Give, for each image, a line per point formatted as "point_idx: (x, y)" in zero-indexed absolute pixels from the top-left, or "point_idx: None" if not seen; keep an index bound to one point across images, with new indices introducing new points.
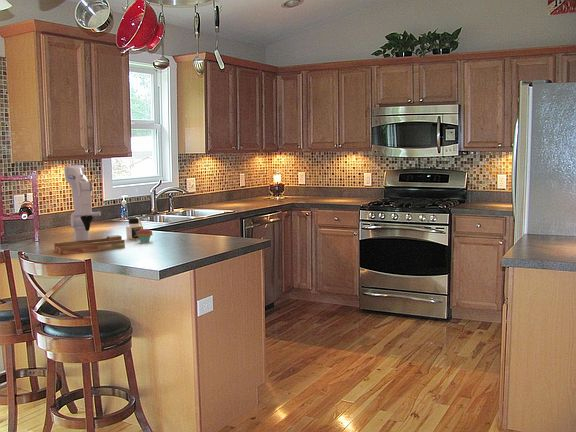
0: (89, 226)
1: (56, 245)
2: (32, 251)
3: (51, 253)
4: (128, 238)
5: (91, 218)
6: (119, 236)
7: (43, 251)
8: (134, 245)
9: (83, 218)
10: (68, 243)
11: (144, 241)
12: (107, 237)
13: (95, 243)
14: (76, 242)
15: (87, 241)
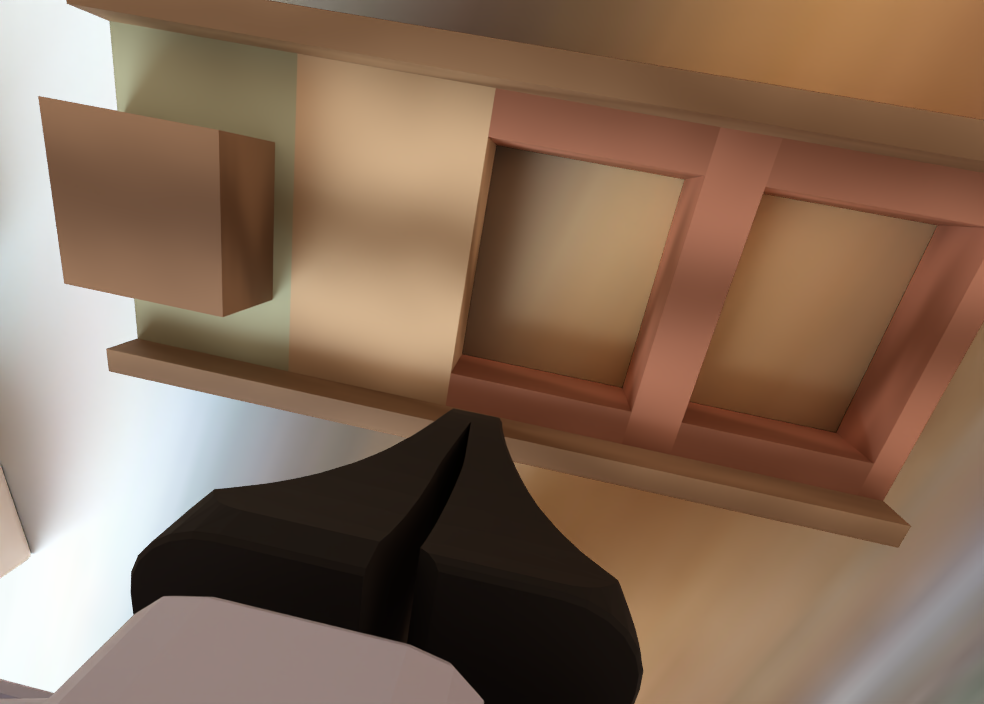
0: (425, 430)
1: (869, 503)
2: (965, 648)
3: (975, 371)
4: (18, 529)
5: (254, 502)
6: (71, 103)
7: (910, 563)
8: (36, 78)
9: (621, 615)
10: (719, 474)
11: None
12: (233, 278)
13: (528, 45)
14: (617, 453)
15: None
